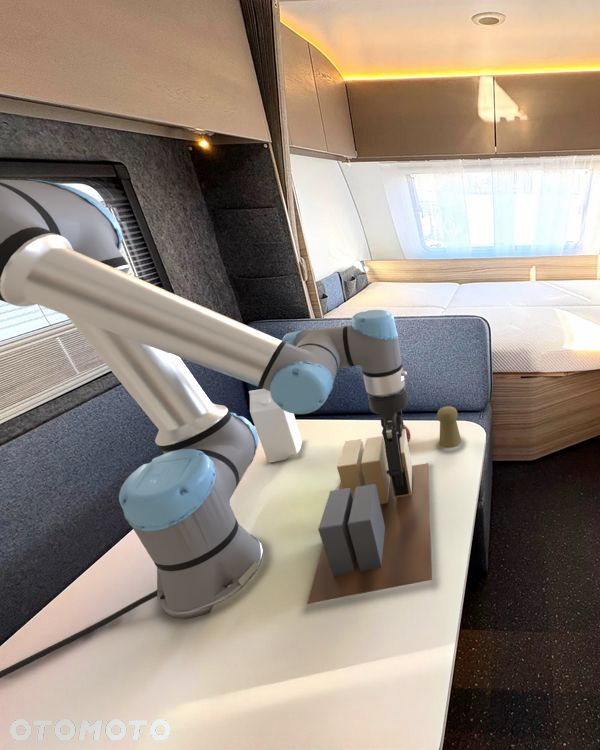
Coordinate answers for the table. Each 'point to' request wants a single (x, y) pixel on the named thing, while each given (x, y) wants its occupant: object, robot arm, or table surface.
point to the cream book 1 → (351, 465)
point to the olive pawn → (448, 427)
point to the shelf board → (388, 547)
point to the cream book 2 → (376, 467)
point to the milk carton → (274, 427)
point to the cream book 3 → (405, 462)
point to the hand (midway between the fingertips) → (403, 478)
